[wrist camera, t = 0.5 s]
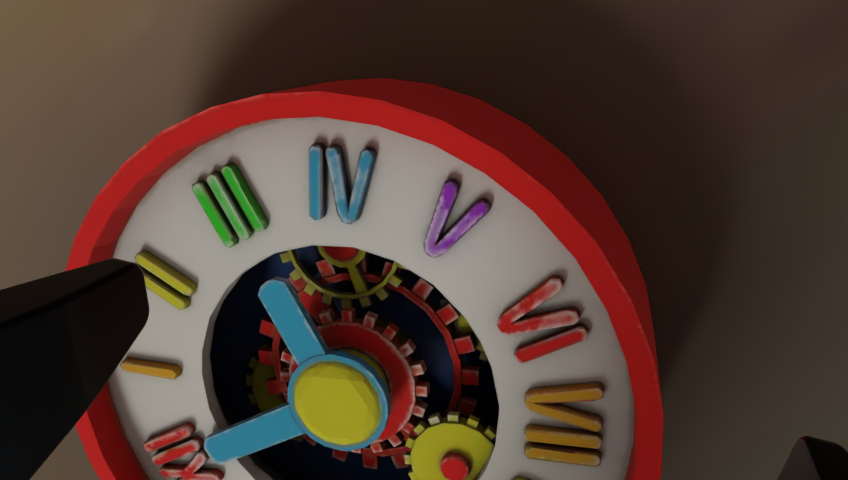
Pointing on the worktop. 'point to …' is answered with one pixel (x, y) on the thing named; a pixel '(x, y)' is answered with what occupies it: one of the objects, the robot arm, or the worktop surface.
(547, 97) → the worktop surface
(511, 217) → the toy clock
